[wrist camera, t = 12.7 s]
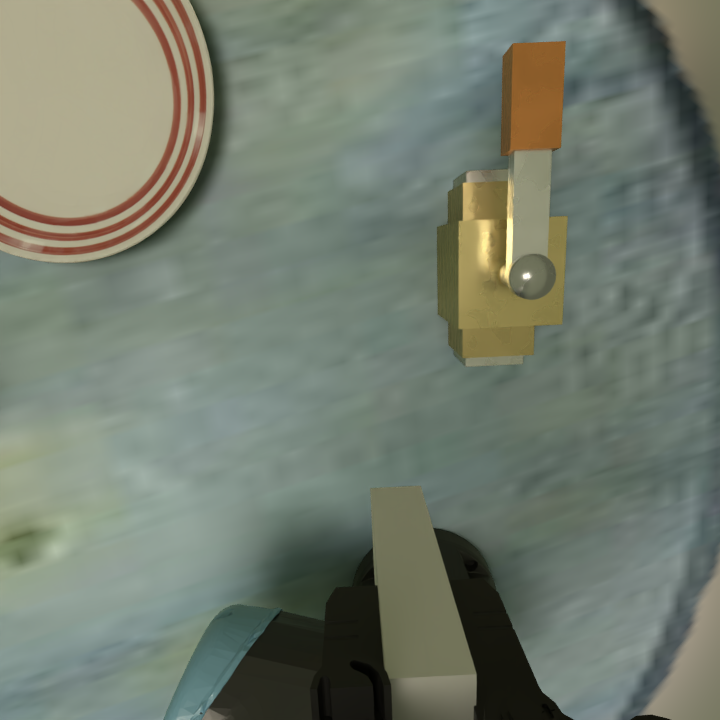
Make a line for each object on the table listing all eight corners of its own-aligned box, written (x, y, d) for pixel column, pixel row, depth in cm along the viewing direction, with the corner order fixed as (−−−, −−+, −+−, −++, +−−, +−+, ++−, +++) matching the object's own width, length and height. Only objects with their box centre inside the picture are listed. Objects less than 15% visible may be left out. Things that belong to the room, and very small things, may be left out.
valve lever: (491, 295, 36) (508, 300, 32) (494, 66, 33) (515, 40, 29) (533, 293, 36) (556, 298, 32) (541, 64, 33) (568, 38, 29)
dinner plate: (-149, 152, 42) (-191, 144, 39) (-28, -170, 37) (-64, -210, 34) (137, 318, 46) (120, 323, 42) (282, 44, 41) (276, 26, 37)
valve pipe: (520, 351, 47) (559, 374, 38) (438, 355, 47) (458, 379, 38) (525, 177, 43) (570, 157, 34) (436, 180, 43) (458, 162, 34)
